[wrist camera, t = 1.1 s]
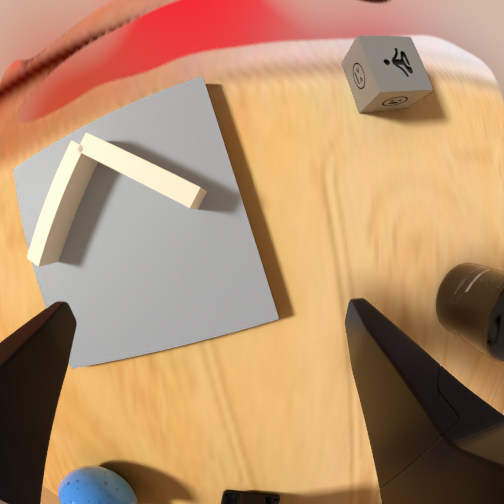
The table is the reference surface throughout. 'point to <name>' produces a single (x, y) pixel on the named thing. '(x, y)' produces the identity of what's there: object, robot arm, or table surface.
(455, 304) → the supplement bottle
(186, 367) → the table surface
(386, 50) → the dice cube
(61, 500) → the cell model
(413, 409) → the robot arm
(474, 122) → the table surface
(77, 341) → the v cradle
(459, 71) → the table surface
